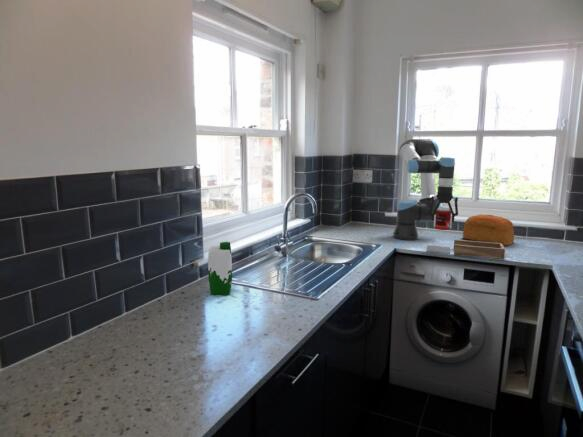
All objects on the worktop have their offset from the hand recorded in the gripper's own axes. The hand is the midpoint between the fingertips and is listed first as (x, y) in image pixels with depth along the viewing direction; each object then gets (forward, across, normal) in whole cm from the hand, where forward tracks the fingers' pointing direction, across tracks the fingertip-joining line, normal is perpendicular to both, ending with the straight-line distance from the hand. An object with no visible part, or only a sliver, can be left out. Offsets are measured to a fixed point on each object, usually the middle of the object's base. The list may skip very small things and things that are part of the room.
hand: (442, 227), depth 226 cm
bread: (+13, +27, +33) cm, 45 cm away
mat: (+13, -1, -1) cm, 13 cm away
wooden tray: (+13, +19, -1) cm, 23 cm away
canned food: (+1, 0, 0) cm, 1 cm away
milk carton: (+12, -83, -100) cm, 130 cm away
